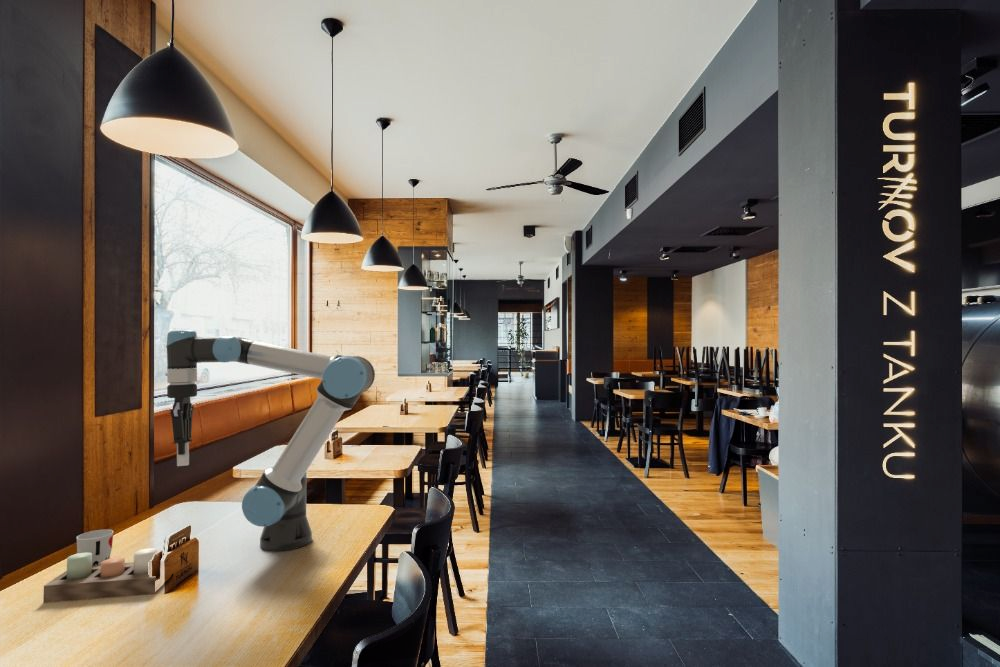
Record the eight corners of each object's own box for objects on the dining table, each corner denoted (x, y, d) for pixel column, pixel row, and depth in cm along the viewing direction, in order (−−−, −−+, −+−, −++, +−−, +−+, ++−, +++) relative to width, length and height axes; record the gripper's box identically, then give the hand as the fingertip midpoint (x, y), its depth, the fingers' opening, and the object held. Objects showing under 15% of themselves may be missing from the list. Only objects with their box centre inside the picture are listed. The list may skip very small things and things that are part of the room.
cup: (92, 578, 144) (93, 540, 144) (67, 576, 146) (68, 538, 146) (120, 566, 152) (120, 530, 152) (95, 564, 154) (96, 528, 154)
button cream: (160, 566, 143) (160, 547, 143) (151, 574, 138) (152, 554, 138) (138, 568, 142) (139, 549, 142) (129, 576, 137) (130, 556, 137)
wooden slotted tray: (173, 574, 146) (173, 559, 147) (154, 594, 135) (154, 577, 135) (72, 582, 142) (72, 566, 142) (43, 602, 130) (43, 585, 130)
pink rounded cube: (128, 576, 141) (128, 556, 141) (118, 584, 136) (118, 564, 137) (106, 577, 140) (106, 558, 141) (96, 586, 135) (96, 565, 136)
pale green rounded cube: (95, 571, 140) (96, 551, 140) (84, 579, 135) (85, 559, 135) (73, 573, 139) (74, 553, 139) (62, 581, 134) (62, 560, 134)
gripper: (175, 383, 164) (176, 462, 163) (159, 385, 151) (160, 471, 151) (202, 382, 166) (203, 460, 165) (189, 384, 153) (190, 468, 152)
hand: (183, 465), depth 158 cm, fingers closed
